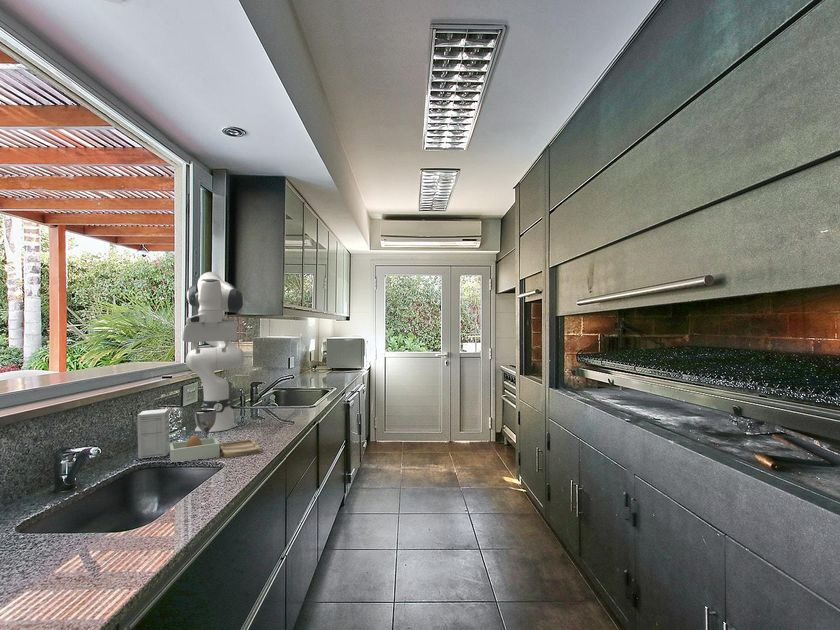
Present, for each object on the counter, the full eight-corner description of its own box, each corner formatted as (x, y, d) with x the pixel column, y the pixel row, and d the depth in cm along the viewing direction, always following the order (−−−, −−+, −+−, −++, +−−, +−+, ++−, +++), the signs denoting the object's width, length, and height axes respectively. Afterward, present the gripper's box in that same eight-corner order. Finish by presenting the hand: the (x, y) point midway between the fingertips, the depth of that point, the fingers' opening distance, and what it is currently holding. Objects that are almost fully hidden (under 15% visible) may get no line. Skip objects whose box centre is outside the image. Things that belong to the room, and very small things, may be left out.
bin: (169, 456, 174) (169, 443, 175) (215, 449, 183) (215, 437, 183) (170, 464, 164) (170, 450, 164) (219, 456, 172) (219, 443, 172)
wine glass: (190, 449, 184) (190, 411, 184) (208, 444, 191) (207, 408, 191) (203, 451, 180) (203, 413, 180) (221, 446, 187) (220, 409, 187)
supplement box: (170, 451, 182) (170, 408, 183) (166, 457, 174) (166, 412, 174) (142, 453, 179) (142, 410, 179) (137, 460, 170) (136, 414, 171)
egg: (204, 454, 176) (204, 433, 176) (198, 458, 171) (198, 437, 171) (190, 455, 176) (190, 434, 176) (184, 458, 171) (183, 437, 171)
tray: (218, 447, 186) (218, 443, 186) (252, 442, 192) (252, 439, 192) (224, 458, 170) (224, 454, 170) (261, 452, 177) (261, 448, 177)
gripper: (236, 318, 194) (237, 351, 193) (182, 319, 183) (182, 354, 183) (239, 317, 188) (239, 351, 188) (183, 318, 178) (183, 354, 177)
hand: (211, 352), depth 185 cm, fingers open, 8 cm apart
